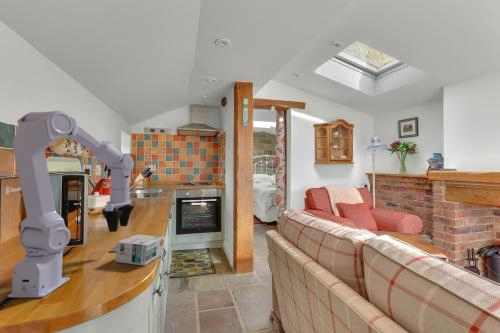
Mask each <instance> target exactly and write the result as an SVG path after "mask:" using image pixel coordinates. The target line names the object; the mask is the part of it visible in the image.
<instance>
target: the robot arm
mask: <svg viewBox="0 0 500 333" xmlns="http://www.w3.org/2000/svg"><path fill="white" fill-rule="evenodd" d="M17 125H18V128H17V130H16V133H15V136H14V138H13V140H12V149H13V155H14V160H15V164H16V170H17V174H18V175H17V176H18V179H19V183H20V189H21V194H22V199H23V205H24V208H25V212H26V218H23V220H22V221H21V222H20V227H21V228H20V233H19V236H18V242H19V244H20V245H21V246H22V247H23V248H24V253H25V256H24V257H23V258H22V259H21V260H19V262H17V263H16V264H15V265H14V267H13V269H12V280H11V282H12V284H11V293H10V294H8V295H7V298H44V297H46V296H48V295H49V294H51V293H52V292H53V291H55V290H57V289H58V288H59V287H61V286H63V285H64V284H65V283H67V282H68V281H70V278H71V277H63V255H64V254H63V252H64V250H65V248H66V247H67V245H68V244H69V243H70V240H71V231H70V229H69V228H68V227H67V226H66V224H65V220H64V218H63V217H62V216H61V215H60V214H59V213H57V211H56V206H55V201H54V196H53V189H52V185H51V179H50V173H49V168H48V162H47V157H46V153H45V152H46V150H47V149H48V148H49V146H51V145H52V144H53V143H55V142H56V141H58V140H61V139H62V138H64V137H66V138H69V139H70V140H72V141H74V142H76V143H79V145H82V146H83V147H86V148H87V149H89V150H90V151H91V155H92V156H93V157H95V158H96V159H98V160H100V161H101V162H103V163H104V164H106V166H107V168H108V170H110V186H109V187H110V190H109V191H110V193H109V201H106V204H104V206H105V207H104V208H105V209H103V210H102V211H101V213H102V215H103V217H104V219H105V221H106V223H107V228H108V232H109V233H116V232H117V231H118V228H119V226H120V227H127V226H128V224H129V222H130V221H129V220H130V217H131V214H132V212H133V210H134V208H135V205H133V204H132V199H131V198H130V176H131V175H132V171H133V168H134V166H135V162H134V160H133V157H132V156H131V155H130V154H128V153H123V152H122V151H121V150H120V149H118V148H116V147H115V146H113V145H112V143H111V142H110V141H109V140H99V139H97V138H96V137H95V136H94V135H92V134H91V133H90V132H88V131H87V130H86V129H85V128H83V127H82V126H81V125H80V124H78V122H77V120H76V119H75V118H74V117H72V116H70V115H69V114H68V112H67V113H66V112H65V111H63V110H53V111H30V112H28V113H26V114H24V115H23V116H22V117H19V119H18V120H17Z"/></svg>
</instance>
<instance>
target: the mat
mask: <svg viewBox="0 0 500 333" xmlns="http://www.w3.org/2000/svg"><path fill="white" fill-rule="evenodd" d="M116 249H117V245H116V246H115V247H113V248H112V249H110V250H108V253H116Z"/></svg>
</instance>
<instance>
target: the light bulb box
mask: <svg viewBox="0 0 500 333" xmlns="http://www.w3.org/2000/svg"><path fill="white" fill-rule="evenodd" d="M164 240H165V236H155V235H146V234H145V235H144V234H138V233H137V234H135V235H132V236H130V237H127V238H124V239H121V240H118V241H117V242H116V246H117V249H116V252H115V262H116V263H120V264H129V265H136V266H144V267H146V266H147V265H149V264H151V263H152V262H154V261H155V260H156V259H158V258H160V257H162V256H163V255H164V244H165V243H164V242H165V241H164Z"/></svg>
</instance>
